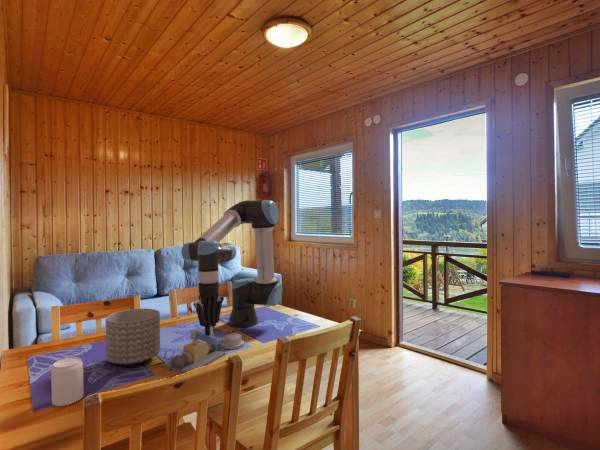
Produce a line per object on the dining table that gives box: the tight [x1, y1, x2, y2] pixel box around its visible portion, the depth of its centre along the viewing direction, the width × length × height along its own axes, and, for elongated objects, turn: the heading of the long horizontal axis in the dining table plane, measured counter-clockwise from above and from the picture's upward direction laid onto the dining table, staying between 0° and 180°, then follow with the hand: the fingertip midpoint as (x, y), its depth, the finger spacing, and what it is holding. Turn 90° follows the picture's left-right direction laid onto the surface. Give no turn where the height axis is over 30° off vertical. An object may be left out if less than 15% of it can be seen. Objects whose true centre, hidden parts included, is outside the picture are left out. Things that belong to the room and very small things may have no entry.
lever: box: [190, 329, 218, 345], centre depth 133 cm, size 14×3×2 cm, turn 53°
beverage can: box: [50, 356, 84, 407], centre depth 107 cm, size 8×8×12 cm
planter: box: [105, 308, 161, 366], centre depth 136 cm, size 19×19×18 cm
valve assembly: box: [161, 339, 227, 374], centre depth 137 cm, size 20×14×9 cm
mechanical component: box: [220, 332, 245, 350], centre depth 153 cm, size 10×4×10 cm
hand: (210, 342), depth 133 cm, fingers closed
